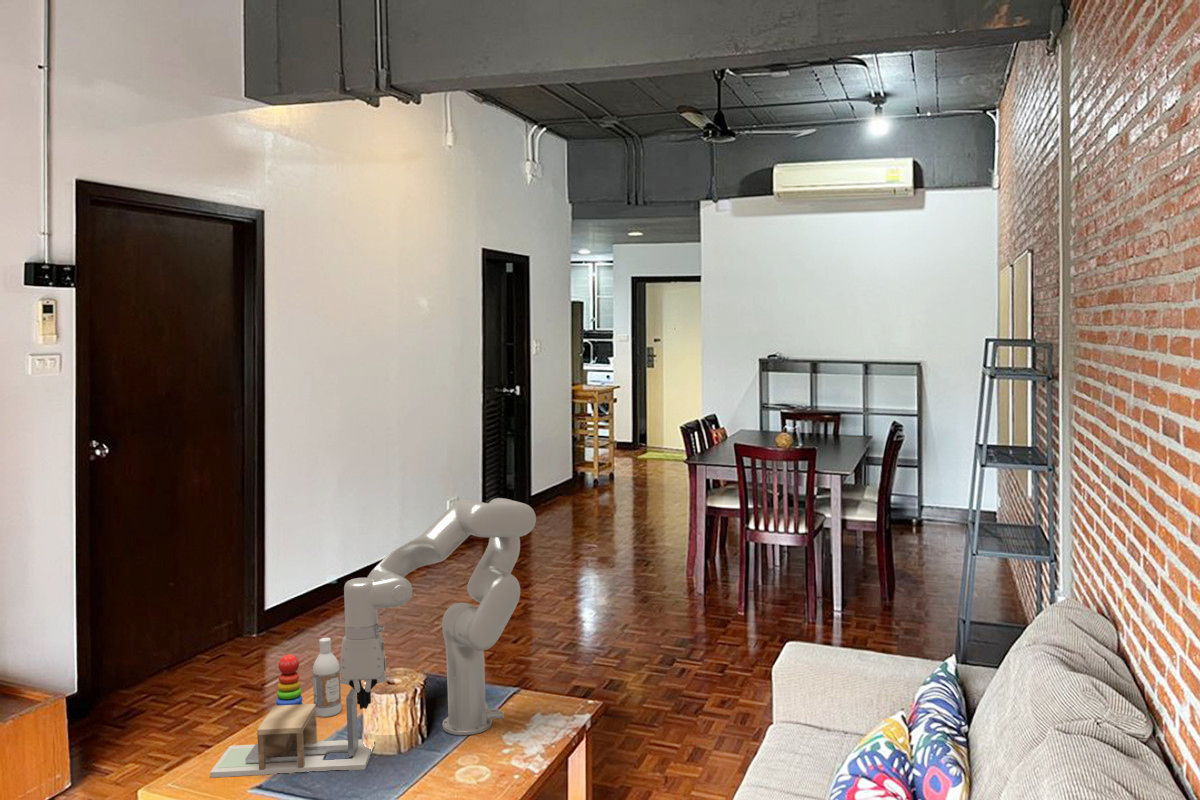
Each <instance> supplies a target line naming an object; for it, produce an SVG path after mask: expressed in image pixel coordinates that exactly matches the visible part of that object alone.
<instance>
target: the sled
mask: <svg viewBox="0 0 1200 800" xmlns="http://www.w3.org/2000/svg"><path fill="white" fill-rule="evenodd" d="M345 700H346V701H345V702H346V725H347V727H346V728H347V729H346V730H347V731H346V733H347V740H348V745H335V746H315V747H306V742H304V755H309V754H329V753H348V756H354V754H355V752H356V749H357V747H358V740H359V730H358V728H359V724H358V706H357V705H358V704H357V693H356V692H355V690H354V689H353V688H351V689H350V690H349V692H348V694H347V696H346V697H345ZM254 745H255V746H254V747H253V749H252V750H251V751H250V753H249V754H248V756H247V757H246V759H245V762H246V763H259V759H258V743H255V744H254ZM265 760H266V762H280V761H298V756H297V742H292V746H291V747H290V749H289V751H288V753H287V754H286V755H279V756H265Z"/></svg>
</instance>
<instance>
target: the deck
mask: <svg viewBox="0 0 1200 800" xmlns="http://www.w3.org/2000/svg"><path fill="white" fill-rule="evenodd" d="M362 739H363V738H361V739H359V738H358V747H357V749H356V752H355V754H354V756H351V757H349V759H334V760H325V758H326V756H327V754H309V755H304V763H305V766H304V767H303V768H298V761H280V762H266V768H265V769H264V770H259V763H246V762H245V759H246V757H247V756H248V754H249V753H250V751H251V750H252V749H253V747H254V746H255V744H237V745H235V744H234V745H229V746H228V748H227V749H225V751H224V753H223V754H222V756H221V757H220V758H219V759H218V761H217V762H216V764H215V765H214V766H213V767H212V769H211V770H210V772H209V777H210V778H227V777H247V776H267V774H270V775H278V774H277V773H289V772H290V773H289V774H292V773H291V772H305V771H307V772H309V771H327V770H349V771H365V770H366V769H367V765H368V763H369V761H370V758H371V756H372V753H371V749H369V748H367V747H365V746H364V744H363V741H362ZM335 745H348V739H341V740H322V741H321V740H320V741H318V740H317V743H312V744H306V747H315V746H335ZM370 755H371V756H370ZM350 758H352V759H350ZM309 773H310V772H309Z"/></svg>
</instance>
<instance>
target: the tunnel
mask: <svg viewBox="0 0 1200 800" xmlns="http://www.w3.org/2000/svg"><path fill="white" fill-rule="evenodd" d="M317 726H318V724H317V715H316V704H314V703H306V704H305V703H303V704H301V705H279V706H276V705H273V707H272V708H271V709H270V711H269V712H268V714H267V715H266V717H264V719H263V721H261V724H260V725H259V726H258V728H257V729H256V731H257V732H256V735H257V737H256V738H257V744H258V759H259V770H264V769H265V768H266V760H265V739H264V735H266V734H286V733H292V742H297V756H298V768H303V767H304V766H305V763H304V742H306V744H312V743H317V741H318V728H317Z"/></svg>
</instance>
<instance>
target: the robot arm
mask: <svg viewBox="0 0 1200 800" xmlns="http://www.w3.org/2000/svg"><path fill="white" fill-rule="evenodd" d="M536 523H537V516H536V513H535V511H534V509H533V508H532V507H531V505H529V504H526V503H523V502H520V501H517V500H512V499H508V498H506V497H505V498H502V497H497V498H493V499H492V500H490V501H489V502H482V501H478V500H476V499H470V498H462V499H458V500H457V501H456V502H455V503H453V504H452V505H451V506H450V507H449V508H448V509H447V510H446V511H445V512H444V513H443V514H441V515H440V516H439V518H438V519H437V520H436V521H434V522H433V523H432V524H431V526H429V527H428V528H427V529H426V530H425V531H424V532H423V533H422V534H421V535H420V536H418V537H416V538H414V539H411V540H410V541H408V542H406V543H405V544H403V545H401V546H399V547H396V549H395V550H392V552H390V553H388V554H387V555H386V556H385V557H384V558H383V559H382V560H381V561H379V563H377V564H376V566H375V567H374V568H372V570H371V571H370V572H369V574H367V577H357V578H356V577H355V578H352V579H350V580H347V581H346V582H345V583H344V587H343V591H344V592H343V595H344V597H343V599H344V625H345V626H344V627H345V628H344V629H345V635H344V636H343V637H342V641H341V642H342V643H341V649H340V663H339V667H340V685H347V686H350V688H351V689H354V690H355V692H356V696H357V705H359V710H362V709H365V710H367V709H368V707H369V705H371V703H372V692H371V691H372V689H374V687H375V686H376V685H377V684H381V683H385V682H386V681H387V675H386V668H387V664H386V663H387V662H386V661H387V660H386V651H385V642H384V638H383V635H382V633H381V632H384V631H385V625H383V624H382V625H381V624H380V623H379V616H378V615H379V614H378V611H379V609H386V608H387V609H388V608H389V609H391V608H399V607H402V606H404V605H406V604H407V603H408V602H409V601H410V600H411V598H412V595H413V587H412V583H411V582H410V581H409V580H408V579H407V578H406V576H407V575H408V574H410V573H411V572H413V571H415V570H417V569H419V568H422V567H425V566H429V565H433V564H437V563H438V564H439V563H441V562H443V561H445V560H447V558H448V557H449V556H450V555H451V554H452V553H453V552H454V551H455V550H456V549H457V548H458V547H459V546H460V545H462V543H464V542H465V541H466V540H467V539H468V538H469V536H474V537H479V538H489V539H488V545H487V546H486V548H485V551H484V553H483V555H482V557H481V558H480V560H479V562H478V563H477V566H476V567H475V569H474V570H473V572H472V574H471V576H470V578H469V580H468V583H467V587H466V589H467V593H468V595H469V597H470V598H471V599H472V600H473V601H476V602H477V603H479V605H478V607H477V606H475V605H472V604H470V603H467V602H457V603H454V604H452V605H450V607H448V608H447V609H446V610H445V611H444V614H443V616H442V621H441V629H442V635H443V640H444V646H445V653H446V680H447V682H446V683H447V708H448V709H447V711H448V716H446V718H445V719H443V721H442V729H443V731H445V732H446V733H448V734H451V735H455V736H470V735H472V736H473V735H477V734H480V733H483V732H485V731H487V730H488V729H490V728H491V727H492V725H493V720H503V719H504V711H503V710H500V708H490V707H488V702H486V682H485V681H486V679H485V678H486V676H485V675H486V674H485V653H484V651H486V650H489V649H491V648H492V647H493V646H494V645H495V644H496V643H497V642H498V640H499V639H500V637H501V635H502V634H503V633H504V630H505V628H506V627H507V625H508V622H509V621H510V619H511V617H512V615H513V613H514V612H515V609H516V608H517V606H518V604H519V601H520V597H521V585H520V582H519V580H518V578H516V576H515V575H513V574H512V572H513V569H514V567H515V565H516V563H517V561H518V558H519V556H520V551H521V539H520V538H521V537H524V536H527V535H528V534H529V533H530V532H532V530H534V528H535V525H536ZM364 680H366V681H365V687H364V686H363V683H362V681H364Z"/></svg>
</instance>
